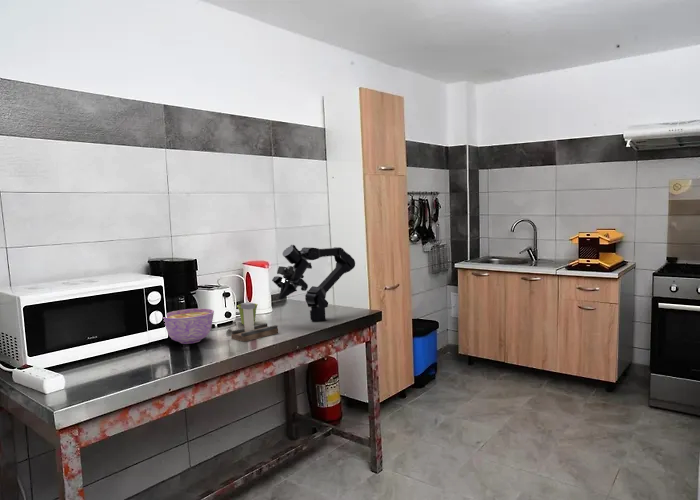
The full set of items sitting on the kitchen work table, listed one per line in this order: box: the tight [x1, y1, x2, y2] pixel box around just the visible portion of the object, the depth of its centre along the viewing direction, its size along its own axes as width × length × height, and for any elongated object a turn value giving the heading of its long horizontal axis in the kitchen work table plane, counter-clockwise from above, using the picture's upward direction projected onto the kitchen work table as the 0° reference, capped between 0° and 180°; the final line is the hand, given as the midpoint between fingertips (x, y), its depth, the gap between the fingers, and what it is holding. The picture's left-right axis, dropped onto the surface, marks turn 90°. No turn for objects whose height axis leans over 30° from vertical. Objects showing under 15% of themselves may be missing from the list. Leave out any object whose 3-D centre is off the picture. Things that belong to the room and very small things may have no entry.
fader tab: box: [240, 301, 256, 332], centre depth 207 cm, size 3×5×12 cm, turn 46°
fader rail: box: [230, 322, 279, 342], centre depth 209 cm, size 17×9×3 cm, turn 136°
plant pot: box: [236, 303, 258, 325], centre depth 235 cm, size 9×9×9 cm
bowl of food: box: [162, 308, 215, 345], centre depth 205 cm, size 20×20×12 cm
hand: (279, 298), depth 219 cm, fingers closed
